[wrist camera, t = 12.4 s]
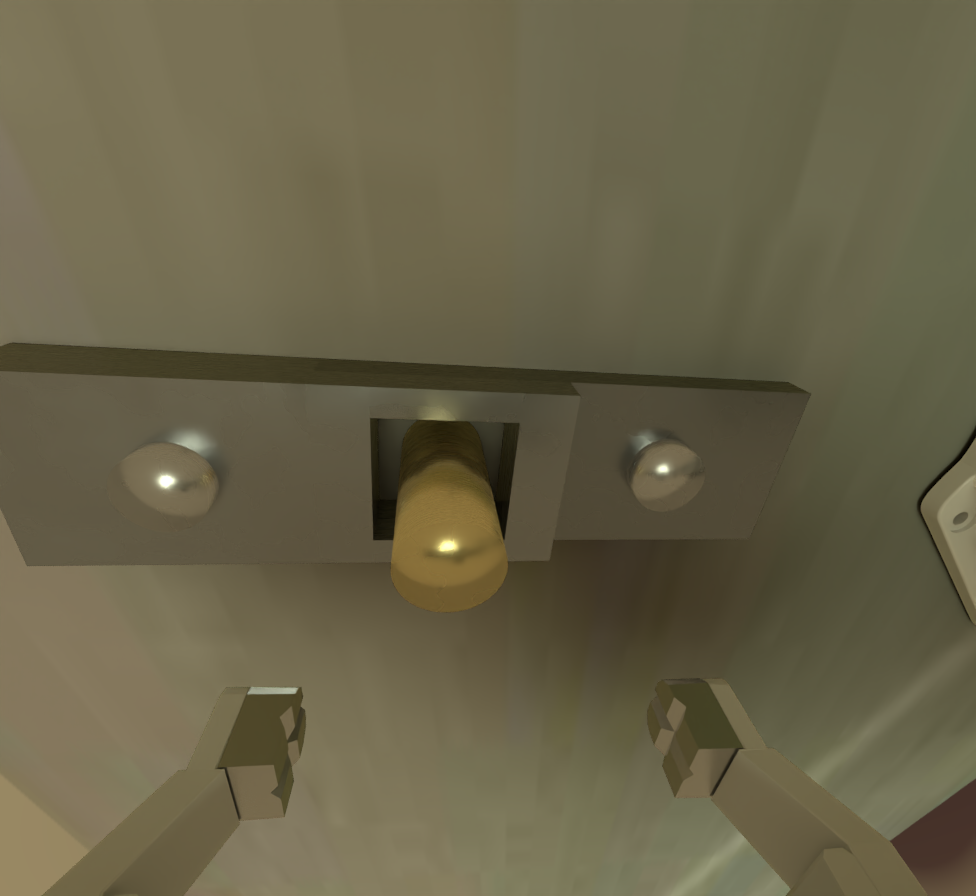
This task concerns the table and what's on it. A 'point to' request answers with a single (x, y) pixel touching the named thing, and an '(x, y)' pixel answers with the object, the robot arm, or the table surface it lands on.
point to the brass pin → (446, 520)
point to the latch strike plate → (359, 454)
